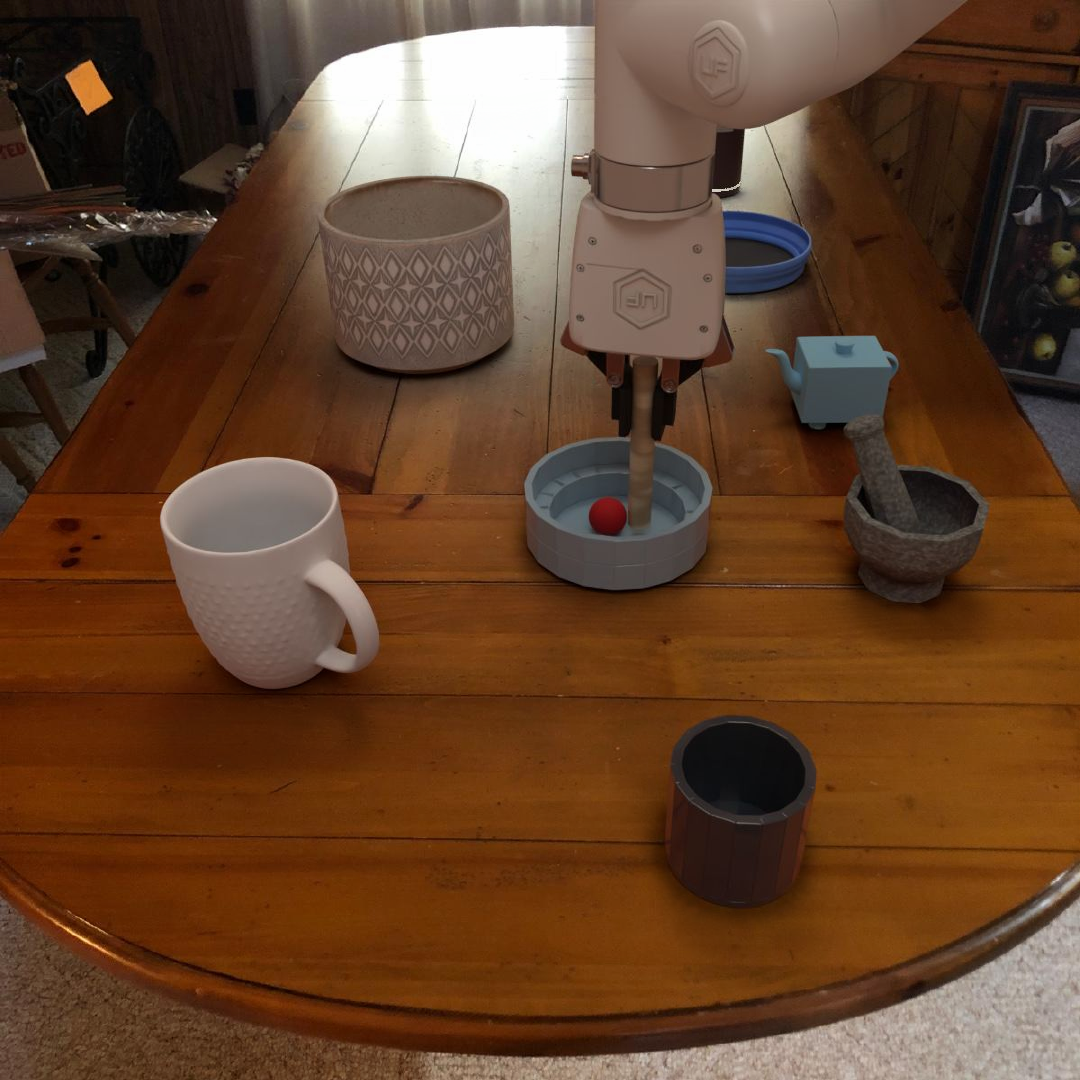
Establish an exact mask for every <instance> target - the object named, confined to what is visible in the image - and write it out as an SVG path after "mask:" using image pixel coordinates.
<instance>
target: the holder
mask: <svg viewBox="0 0 1080 1080" xmlns="http://www.w3.org/2000/svg"><path fill="white" fill-rule="evenodd" d="M817 774H818V771H817V767H816V765H815V762H814V760H813V757H812V755H811V752H810V751H809V749H808V748H807V747H806V746H805V745H804V743H803V742H801V741H800V739H799V738H797V736H796V734H795V735H794V734H793V733H792V732H791V731H788V730H787V729H785V728H784V727H782V726H780V725H778V724H777V723H775V722H772V721H769V720H767V719H762V718H759V717H755V716H753V715H742V714H741V715H737V714H725V715H724V714H723V715H719V716H715V717H711V718H706V719H703V720H701V721H700V722H698V723H696V724H695V725H693V726H691V727H689V728H688V729H686V730H685V731H684V732H683V733H682V734H681V736H680V737H679V738H678V740H677V741H676V743H675V744H674V745H673V746H672V752H671V757H670V762H669V773H668V786H667V787H668V788H667V803H666V815H665V816H666V817H665V818H666V819H665V829H664V830H665V831H664V848H665V850H664V851H665V857H666V860H667V863H668V866H669V868H670V869H671V871H672V873H673V874H674V876H675V877H676V879H677V880H678V881H679V882H680V883H681V884H682V885H683V886H684V887H685V888H686V889H687V890H688V891H689V892H691V893H692V894H694V895H696V896H697V897H699V898H700V899H703V900H705V901H707V902H709V903H712V904H715V905H719V906H723V907H728V908H734V909H735V908H737V909H746V908H754V907H758V906H759V907H760V906H763V905H766V904H769V903H771V902H773V901H775V900H777V899H778V898H781V896H783V895H784V894H785V893H787V891H789V889H790V888H791V887H792V886H793V885H794V883H795V881H796V880H797V878H798V875H799V872H800V869H801V867H802V863H803V857H804V853H805V852H804V851H805V847H806V843H807V836H808V831H809V826H810V820H811V816H812V809H813V804H814V799H815V793H816V789H817Z"/></svg>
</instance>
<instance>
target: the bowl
mask: <svg viewBox="0 0 1080 1080" xmlns="http://www.w3.org/2000/svg"><path fill="white" fill-rule="evenodd" d="M723 219H724V229H725V249H726V278H725V294H751V293H752V294H753V293H760V292H761V293H762V292H767V291H772V290H776V289H779V288H782V287H784V286H787V285H789V284H792V283H793V282H795V280H798V278H800V276H801V275H802V274H803V272H804V270H805V265H806V263H807V262H808V261H809V258H810V254H811V252H812V238H811V236H810V234H809V232H808V231H807V229H805V228H804V227H803V226H801V225H799V224H797V223H795V222H794V221H791V220H789V219H785V218H782V217H780V216H776V215H772V214H768V213H762V212H754V211H747V210H746V211H744V210H723Z"/></svg>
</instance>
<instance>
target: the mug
mask: <svg viewBox="0 0 1080 1080" xmlns="http://www.w3.org/2000/svg"><path fill="white" fill-rule="evenodd" d="M340 503H341V502H340V497H339V492H338V489H337V486H336V484H335V482H334V481H333V479H332V478H331V477H330V476H329V474H327V473H326V472H325V471H323V470H322V469H320V468H319V467H317V466H314V465H312V464H309V463H307V462H304V461H300V460H296V459H293V458H292V459H291V458H283V457H276V456H275V457H273V456H272V457H271V456H261V457H251V458H242V459H237V460H233V461H232V460H231V461H228V462H225V463H222V464H219V465H215V466H213V467H211V468H207V469H205V470H203V471H201V472H198V473H197V474H195V475H194V476H192V477H190V478H189V479H187V480H185V481H184V482H183V483H181V484H180V485H179V486H178V487H176V489H174V490H173V492H171V494H170V495H169V496H168V498H166V500H165V502H164V504H163V506H162V508H161V511H160V517H159V521H160V522H159V523H160V528H161V533H162V536H163V540H164V543H165V546H166V553H167V555H168V557H169V560H170V566H171V570H172V572H173V574H174V577H175V585H176V586H177V588H178V590H179V593H180V596H181V601H182V602H183V605H184V606H185V608H186V613H187V616H188V617H189V619H190V620H191V622H192V625H193V628H194V630H195V631H196V632H197V634H198V635H199V636H200V639H201V641H202V643H203V644H204V645H205V647H206V649H208V652H209V653H210V654H211V655H212V657H213V658H215V659H216V661H217V663H218V665H220V666H222V667H223V668H224V669H225V671H227V672H228V673H230V674H231V675H233V676H234V677H235V678H237V680H240V681H241V682H243V683H245V684H247V685H250V686H253V687H256V688H260V689H266V690H280V689H286V688H287V689H288V688H291V687H294V686H297V685H301V684H303V683H305V682H307V681H309V680H310V679H312V678H314V677H315V676H317V675H318V674H319V673H320V672H321V671H322V670H323V669H326V670H330V671H332V672H336V673H342V674H352V673H357V672H359V671H361V670H363V669H365V668H367V667H368V666H369V665H370V664H371V663H372V662H373V661H374V660H375V659H376V657H377V655H378V652H379V649H380V633H379V631H380V630H379V627H378V624H377V623H378V622H377V620H376V617H375V613H374V611H373V609H372V607H371V604H370V602H369V601H368V599H367V598H366V595H365V594H364V592H363V591H362V589H361V588H360V586H359V585H358V584H357V583H356V581H355V579H353V577H351V575H350V574H351V569H350V562H349V561H350V559H349V558H350V557H349V554H350V553H349V549H348V540H347V539H348V538H347V535H346V531H345V523H344V517H343V514H342V510H341V509H342V508H341V504H340ZM347 623H348V625H349V627H350V629H351V633H352V636H353V638H354V642H355V646H356V654H352V653H349V652H346V651H344V650H342V649H340V648H338V647H339V644H340V642H341V640H342V638H343V634H344V629H345V628H346V625H347Z"/></svg>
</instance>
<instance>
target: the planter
mask: <svg viewBox="0 0 1080 1080" xmlns="http://www.w3.org/2000/svg"><path fill="white" fill-rule="evenodd" d="M510 207H511V206H510V200H509V198H508V196H506V194H505V193H504V192H502V191H501V190H500V189H499V188H496V187H495V186H493V185H491V184H488V183H485V182H482V181H479V180H475V179H471V178H463V177H457V176H448V175H409V176H408V175H407V176H398V177H390V178H384V179H378V180H373V181H368V182H364V183H361V184H358V185H354V186H351V187H348V188H345V189H344V190H341V191H339V192H336V193H335V194H333V195H331V196H330V197H329V198H327V199H326V200H325V201H323V203H321V205H320V206H319V208H318V210H317V216H316V217H317V222H318V230H319V236H320V244H321V250H322V257H323V263H324V271H325V278H326V285H327V292H328V298H329V304H330V311H331V318H332V319H331V320H332V325H333V331H334V338H335V342H336V343H335V344H336V345H337V346H338V348H339V349H340V350H341V351H342V352H343V353H344V354H346V355H347V356H348V357H350V358H352V359H354V360H356V361H357V362H360V363H363V364H365V365H369V366H372V367H374V368H376V369H380V370H383V371H386V372H391V373H396V374H405V375H425V374H427V375H428V374H438V373H444V372H449V371H455V370H457V369H458V370H459V369H461V368H464V367H467V366H469V365H472V364H474V363H476V362H478V361H480V360H482V359H483V358H484V357H487V356H489V355H490V354H493V353H494V352H496V351H497V350H499V349H500V348H501V347H503V346H504V345H505V344H506V343H507V342H508V341H509V340H510V338H511V337H512V335H513V333H514V331H515V308H514V306H515V305H514V283H513V259H512V258H513V257H512V256H513V255H512V235H511V234H512V231H511V209H510Z"/></svg>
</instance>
